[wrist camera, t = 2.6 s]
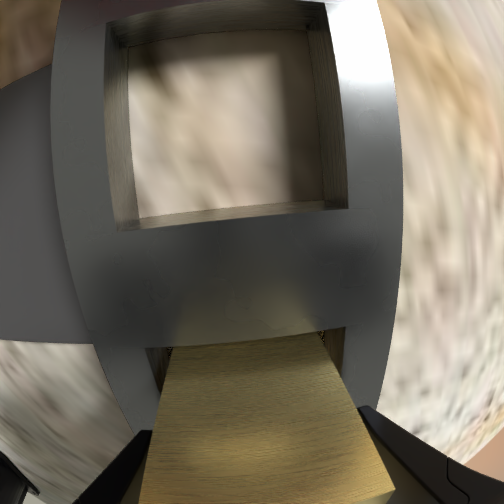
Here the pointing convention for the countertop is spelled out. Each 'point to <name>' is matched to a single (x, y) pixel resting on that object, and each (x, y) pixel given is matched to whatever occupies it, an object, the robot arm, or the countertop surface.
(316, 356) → the pale yellow block
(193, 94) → the countertop surface
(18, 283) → the mat
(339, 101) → the gray slotted plate
